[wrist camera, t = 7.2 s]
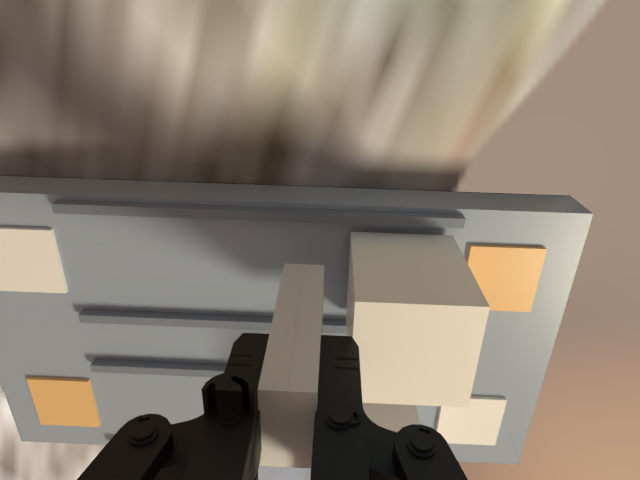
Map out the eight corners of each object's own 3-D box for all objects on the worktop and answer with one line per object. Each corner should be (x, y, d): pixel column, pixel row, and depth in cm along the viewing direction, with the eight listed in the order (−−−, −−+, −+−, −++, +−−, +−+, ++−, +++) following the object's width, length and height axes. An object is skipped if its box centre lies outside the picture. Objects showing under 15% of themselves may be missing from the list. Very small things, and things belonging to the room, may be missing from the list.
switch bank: (-32, 174, 20) (-78, 194, 18) (570, 195, 20) (599, 219, 18) (43, 412, 27) (15, 449, 24) (505, 433, 26) (521, 472, 24)
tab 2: (327, 385, 22) (324, 482, 17) (412, 389, 22) (432, 487, 17) (324, 446, 24) (321, 547, 19) (404, 450, 24) (419, 552, 19)
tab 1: (350, 231, 18) (355, 301, 14) (452, 235, 18) (489, 307, 14) (345, 315, 20) (348, 402, 16) (439, 319, 20) (468, 407, 16)
